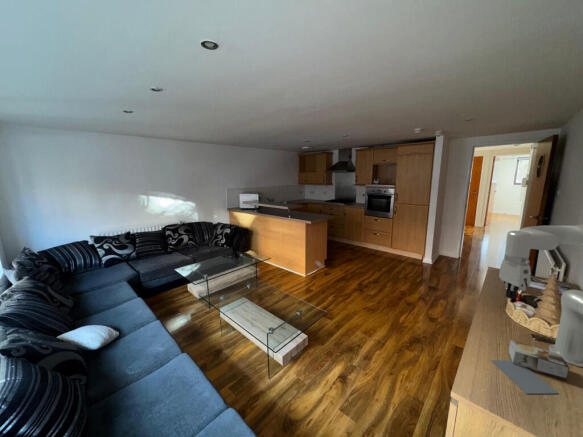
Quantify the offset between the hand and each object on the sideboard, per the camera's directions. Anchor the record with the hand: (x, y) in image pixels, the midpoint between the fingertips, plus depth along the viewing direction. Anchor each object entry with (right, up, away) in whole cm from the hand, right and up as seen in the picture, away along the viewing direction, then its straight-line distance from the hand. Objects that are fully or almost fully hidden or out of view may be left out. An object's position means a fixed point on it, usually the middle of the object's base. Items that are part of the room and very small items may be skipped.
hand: (510, 297), depth 103 cm
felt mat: (-3, -30, -8) cm, 31 cm away
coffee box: (+1, -25, +1) cm, 25 cm away
